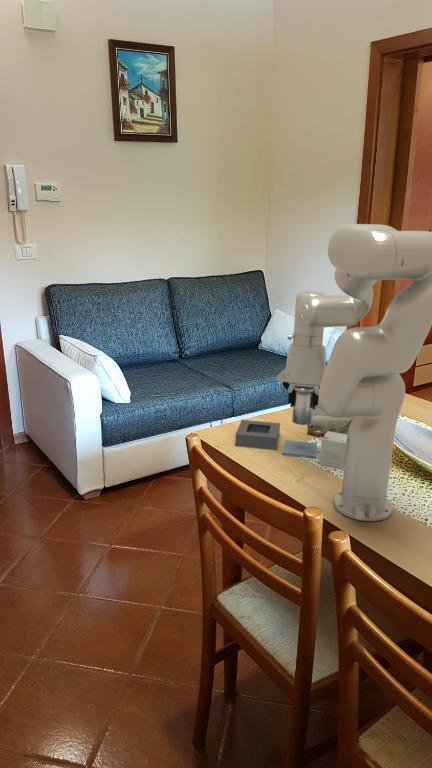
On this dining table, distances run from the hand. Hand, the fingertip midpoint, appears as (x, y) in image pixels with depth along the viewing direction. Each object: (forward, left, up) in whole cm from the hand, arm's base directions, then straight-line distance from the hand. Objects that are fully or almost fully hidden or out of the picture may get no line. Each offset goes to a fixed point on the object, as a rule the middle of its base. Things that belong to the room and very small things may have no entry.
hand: (302, 406), depth 149 cm
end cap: (0, 0, -4) cm, 4 cm away
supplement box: (+28, -7, -13) cm, 31 cm away
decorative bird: (+12, -10, -13) cm, 20 cm away
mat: (0, 0, -13) cm, 13 cm away
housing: (+4, +12, -13) cm, 18 cm away
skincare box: (-6, -9, -13) cm, 17 cm away
